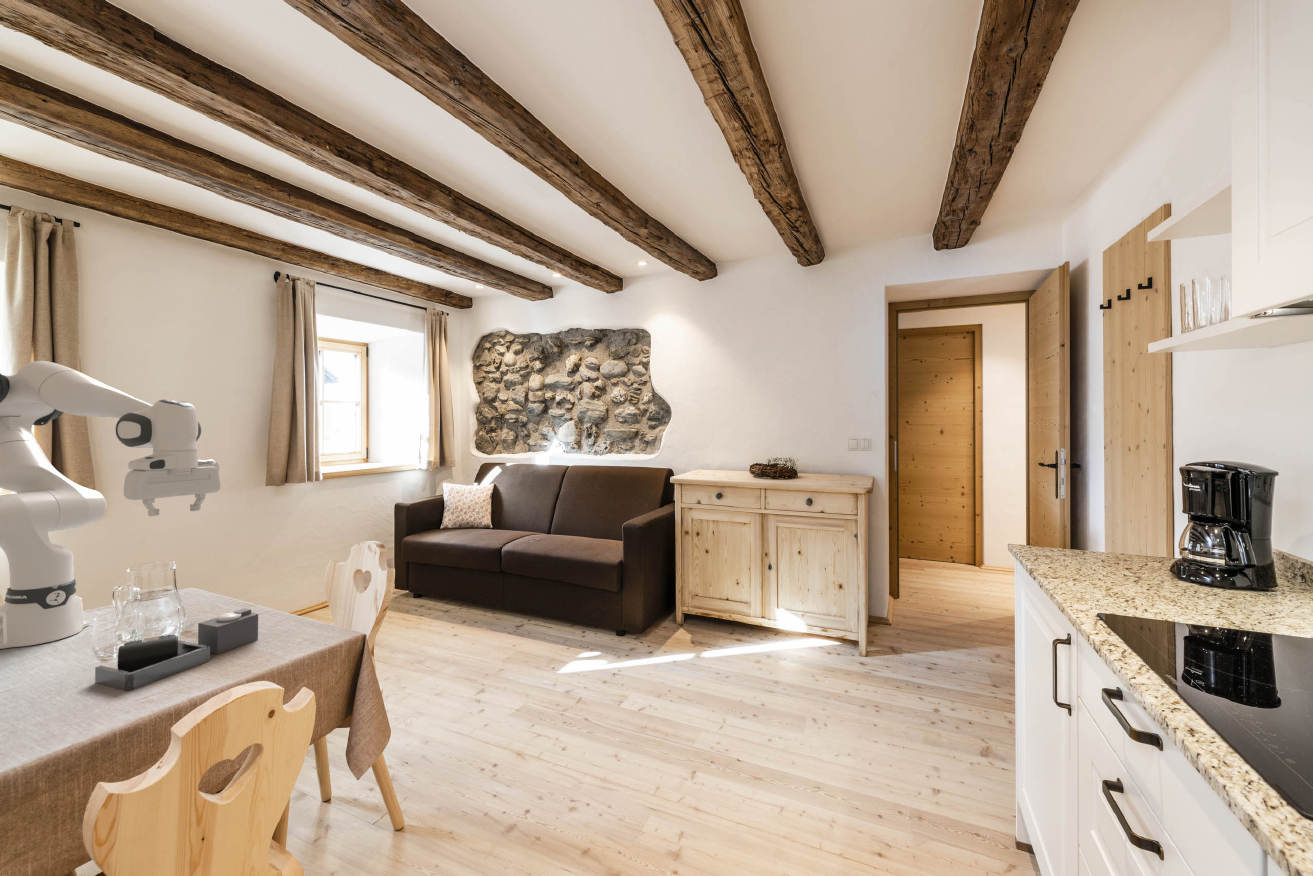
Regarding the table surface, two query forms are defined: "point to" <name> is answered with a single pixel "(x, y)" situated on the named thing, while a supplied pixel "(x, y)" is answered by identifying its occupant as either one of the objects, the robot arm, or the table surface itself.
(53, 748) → the table surface
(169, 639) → the end cap
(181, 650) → the tray
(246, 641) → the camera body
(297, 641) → the table surface
